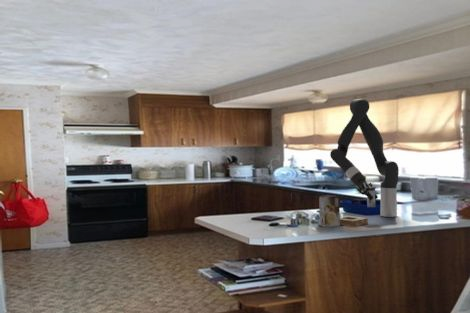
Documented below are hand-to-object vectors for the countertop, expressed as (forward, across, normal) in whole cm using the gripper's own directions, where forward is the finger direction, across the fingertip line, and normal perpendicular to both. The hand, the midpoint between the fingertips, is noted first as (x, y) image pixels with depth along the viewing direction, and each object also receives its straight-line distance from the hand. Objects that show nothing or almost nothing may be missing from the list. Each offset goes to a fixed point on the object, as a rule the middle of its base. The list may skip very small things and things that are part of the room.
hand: (374, 198), depth 253 cm
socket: (+4, -13, +15) cm, 20 cm away
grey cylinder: (+2, 0, +5) cm, 5 cm away
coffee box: (+1, -26, +18) cm, 31 cm away
